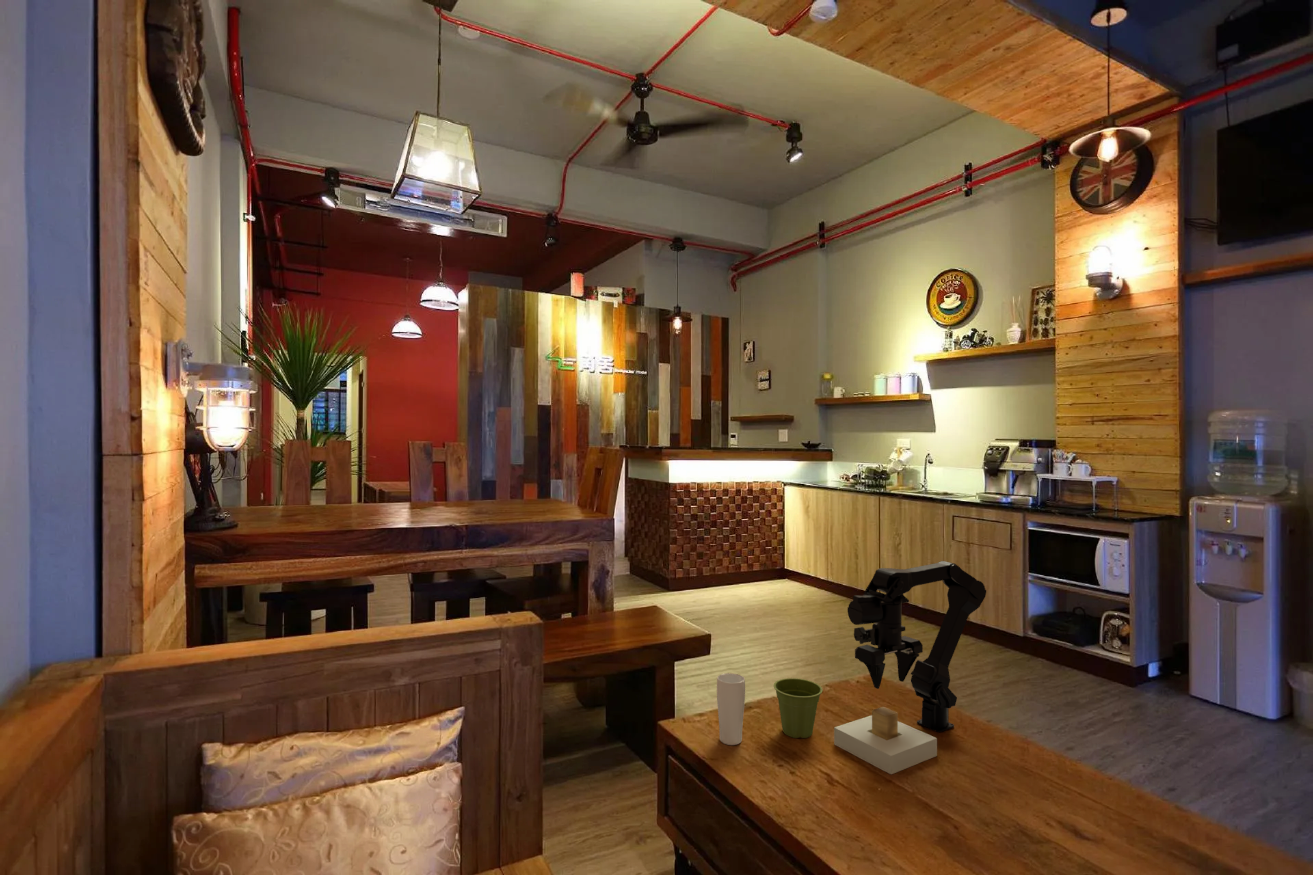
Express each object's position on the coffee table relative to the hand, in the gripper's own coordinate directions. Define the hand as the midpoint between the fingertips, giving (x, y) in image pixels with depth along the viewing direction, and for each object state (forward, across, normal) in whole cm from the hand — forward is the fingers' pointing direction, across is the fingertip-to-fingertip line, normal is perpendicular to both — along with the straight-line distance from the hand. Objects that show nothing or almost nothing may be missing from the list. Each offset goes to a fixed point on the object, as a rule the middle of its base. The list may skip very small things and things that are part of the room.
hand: (889, 684), depth 155 cm
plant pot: (+12, +19, -12) cm, 26 cm away
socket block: (+12, +8, +5) cm, 15 cm away
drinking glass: (+12, +36, -17) cm, 42 cm away
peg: (+12, +8, +5) cm, 15 cm away
